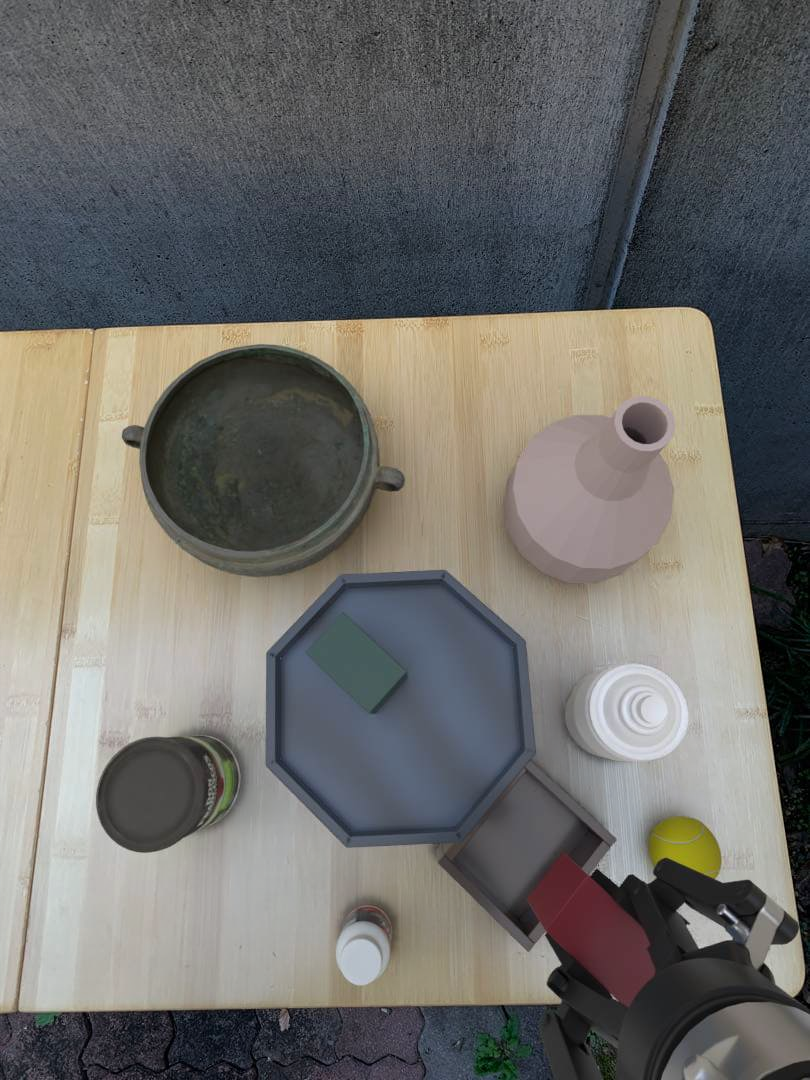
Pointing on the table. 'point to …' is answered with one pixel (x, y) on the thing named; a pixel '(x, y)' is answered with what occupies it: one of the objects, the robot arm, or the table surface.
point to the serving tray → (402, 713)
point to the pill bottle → (364, 945)
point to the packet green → (357, 664)
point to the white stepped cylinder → (627, 713)
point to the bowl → (260, 460)
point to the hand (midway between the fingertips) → (587, 916)
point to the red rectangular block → (593, 929)
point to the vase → (592, 492)
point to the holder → (523, 849)
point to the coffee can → (166, 790)
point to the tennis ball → (686, 845)
